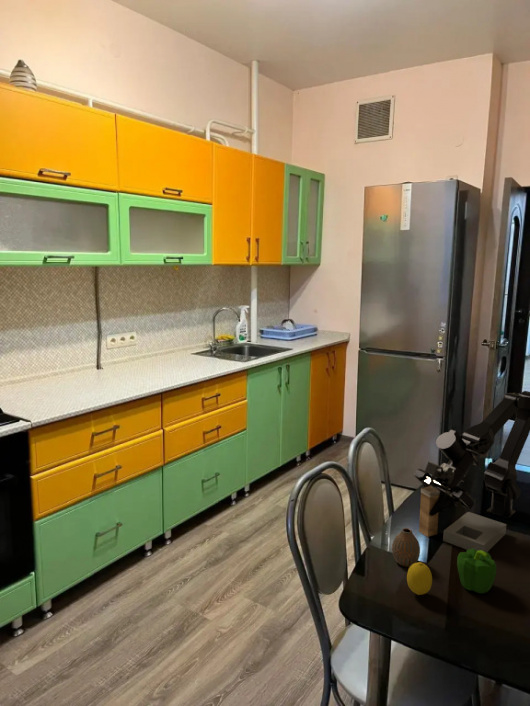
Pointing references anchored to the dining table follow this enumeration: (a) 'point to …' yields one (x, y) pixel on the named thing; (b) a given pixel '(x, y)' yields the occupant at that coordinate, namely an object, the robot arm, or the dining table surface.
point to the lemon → (419, 578)
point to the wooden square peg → (428, 511)
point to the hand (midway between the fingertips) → (425, 512)
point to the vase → (406, 548)
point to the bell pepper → (476, 570)
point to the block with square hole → (474, 532)
